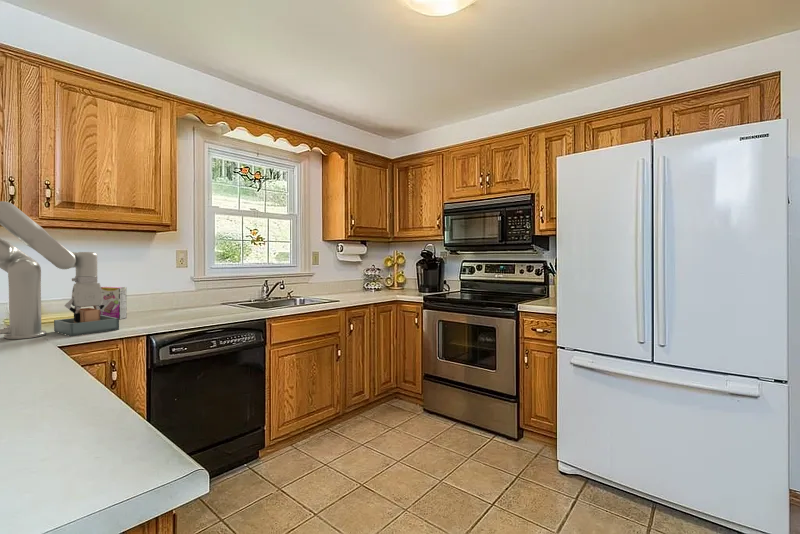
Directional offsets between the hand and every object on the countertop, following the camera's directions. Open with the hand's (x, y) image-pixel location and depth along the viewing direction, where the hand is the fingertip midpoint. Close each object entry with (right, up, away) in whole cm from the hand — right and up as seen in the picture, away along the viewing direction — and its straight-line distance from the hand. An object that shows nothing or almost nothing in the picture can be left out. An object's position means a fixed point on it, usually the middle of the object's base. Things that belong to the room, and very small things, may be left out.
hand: (87, 320), depth 178 cm
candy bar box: (-11, -3, +32) cm, 33 cm away
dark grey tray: (0, -4, 0) cm, 4 cm away
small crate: (0, -2, 0) cm, 2 cm away
